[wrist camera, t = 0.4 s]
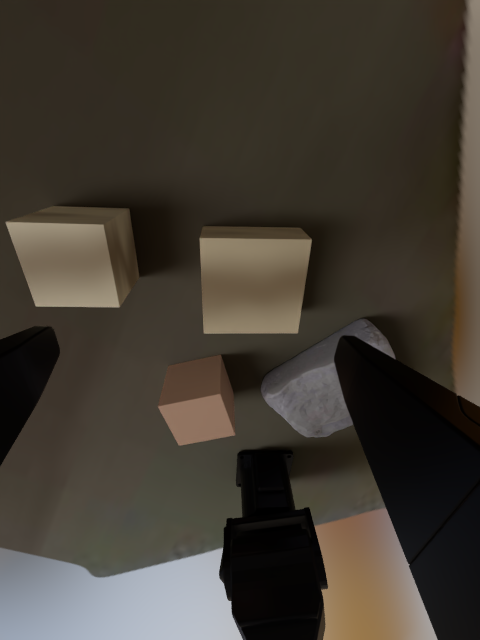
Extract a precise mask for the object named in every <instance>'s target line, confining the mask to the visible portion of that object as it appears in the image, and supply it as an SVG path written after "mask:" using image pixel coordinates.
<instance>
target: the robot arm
mask: <svg viewBox="0 0 480 640" xmlns="http://www.w3.org/2000/svg"><path fill="white" fill-rule="evenodd" d="M59 354H60V348H59V344H58V341H57V338H56V335H55V332H54V329H53V328H52V327H50V326H34V327H32V328H29V329H26V330H24V331H21V332H19V333H16V334H13V335H11V336H8V337H6V338H3V339H1V340H0V466H1V464H2V462H3V461H4V459H5V457H6V456H7V454H8V452H9V450H10V449H11V447H12V445H13V444H14V442H15V440H16V439H17V437H18V435H19V433H20V432H21V430H22V428H23V427H24V425H25V423H26V422H27V420H28V418H29V416H30V415H31V413H32V411H33V410H34V408H35V406H36V404H37V403H38V401H39V399H40V397H41V395H42V393H43V391H44V389H45V387H46V384H47V382H48V380H49V378H50V375H51V373H52V371H53V369H54V366H55V364H56V362H57V360H58V357H59ZM334 363H335V367H336V371H337V375H338V379H339V382H340V386H341V390H342V394H343V397H344V401H345V404H346V407H347V409H348V412H349V414H350V417H351V419H352V422H353V425H354V427H355V430H356V432H357V435H358V437H359V440H360V442H361V445H362V447H363V450H364V453H365V455H366V458H367V460H368V463H369V465H370V468H371V470H372V473H373V475H374V478H375V481H376V483H377V486H378V488H379V491H380V493H381V496H382V498H383V501H384V503H385V506H386V509H387V511H388V514H389V516H390V518H391V521H392V524H393V526H394V529H395V531H396V534H397V537H398V539H399V542H400V544H401V547H402V549H403V552H404V554H405V557H406V559H407V562H408V564H410V565H409V567H410V570H411V573H412V575H413V578H414V580H415V583H416V585H417V588H418V591H419V593H420V596H421V598H422V600H423V603H424V606H425V608H426V611H427V613H428V616H429V618H430V621H431V623H432V626H433V629H434V631H435V634H436V636H437V639H438V640H480V407H479V406H477V405H475V404H473V403H472V402H470V401H468V400H466V399H465V398H463V397H461V396H457V395H456V393H454V392H452V391H450V390H449V389H447V388H445V387H443V386H442V385H440V384H438V383H436V382H435V381H433V380H431V379H429V378H427V377H426V376H424V375H422V374H420V373H419V372H417V371H415V370H413V369H412V368H410V367H408V366H406V365H405V364H403V363H401V362H399V361H398V360H396V359H394V358H392V357H391V356H389V355H387V354H385V353H384V352H382V351H380V350H378V349H377V348H375V347H373V346H371V345H369V344H368V343H366V342H364V341H362V340H361V339H359V338H357V337H355V336H352V335H342V336H341V337H340V338H339V341H338V344H337V348H336V351H335V355H334ZM292 461H293V452H292V451H251V452H239V453H238V455H237V474H236V486H237V487H241V498H242V517H241V518H234V519H232V518H227V524H226V527H225V528H224V547H223V553H222V559H221V565H220V571H219V576H220V579H221V580H222V582H223V583H224V586H225V590H226V595H227V599H228V600H229V601H232V602H231V604H232V615H233V618H234V620H235V623H236V625H237V627H238V629H239V632H240V634H241V636H242V638H243V640H323V636H324V631H325V614H324V603H323V596H322V591H321V589H327V588H328V585H327V578H326V573H325V568H324V563H323V558H322V555H321V550H320V546H319V542H318V538H317V535H316V531H315V527H314V524H313V520H312V516H311V512H310V509H309V507H307V508H304V509H300V510H295V504H294V499H293V494H292V489H291V484H290V479H289V475H290V471H291V466H292Z"/></svg>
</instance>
